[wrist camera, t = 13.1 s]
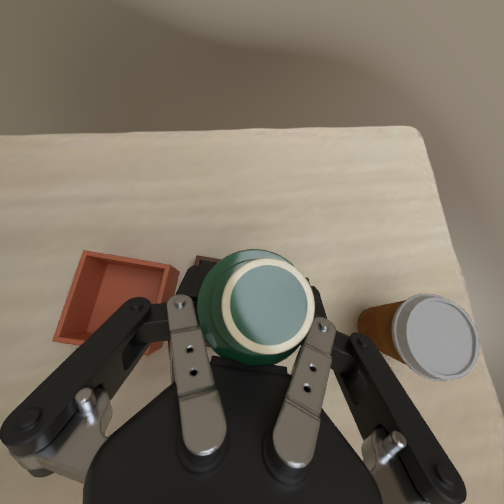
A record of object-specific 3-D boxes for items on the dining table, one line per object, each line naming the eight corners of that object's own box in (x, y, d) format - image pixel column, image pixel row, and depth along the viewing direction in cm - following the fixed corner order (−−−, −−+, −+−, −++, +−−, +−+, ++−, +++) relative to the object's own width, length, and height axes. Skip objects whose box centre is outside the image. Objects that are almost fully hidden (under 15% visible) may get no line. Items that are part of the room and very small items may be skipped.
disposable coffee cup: (342, 299, 38) (393, 296, 26) (397, 294, 39) (469, 289, 27) (353, 363, 36) (413, 390, 24) (411, 355, 37) (495, 378, 25)
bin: (82, 335, 33) (51, 341, 27) (106, 259, 36) (83, 250, 30) (161, 347, 34) (147, 355, 28) (179, 271, 36) (170, 264, 31)
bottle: (202, 308, 23) (138, 308, 7) (241, 267, 24) (263, 189, 8) (243, 349, 22) (276, 450, 6) (281, 305, 24) (387, 299, 8)
